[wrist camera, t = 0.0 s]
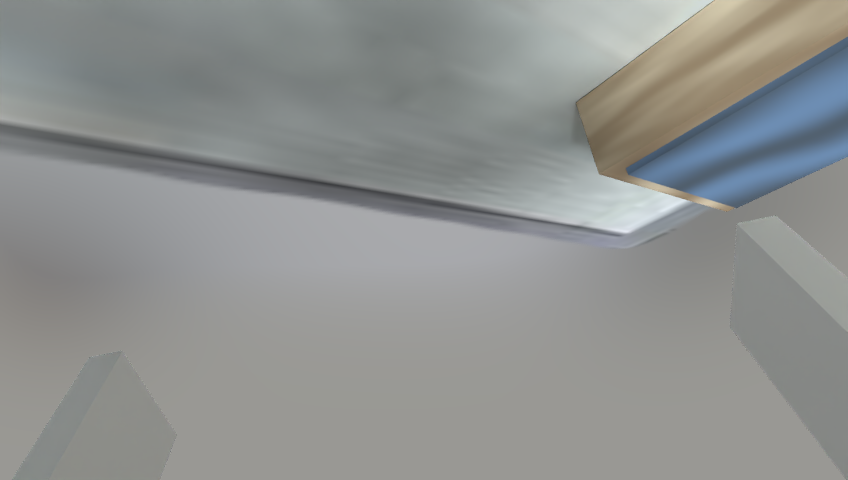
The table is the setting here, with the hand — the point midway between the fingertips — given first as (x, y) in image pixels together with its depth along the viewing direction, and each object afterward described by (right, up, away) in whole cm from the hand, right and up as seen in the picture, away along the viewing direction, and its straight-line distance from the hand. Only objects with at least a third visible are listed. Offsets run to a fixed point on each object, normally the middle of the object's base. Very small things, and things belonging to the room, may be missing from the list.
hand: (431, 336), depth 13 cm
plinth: (+18, +12, +19) cm, 29 cm away
